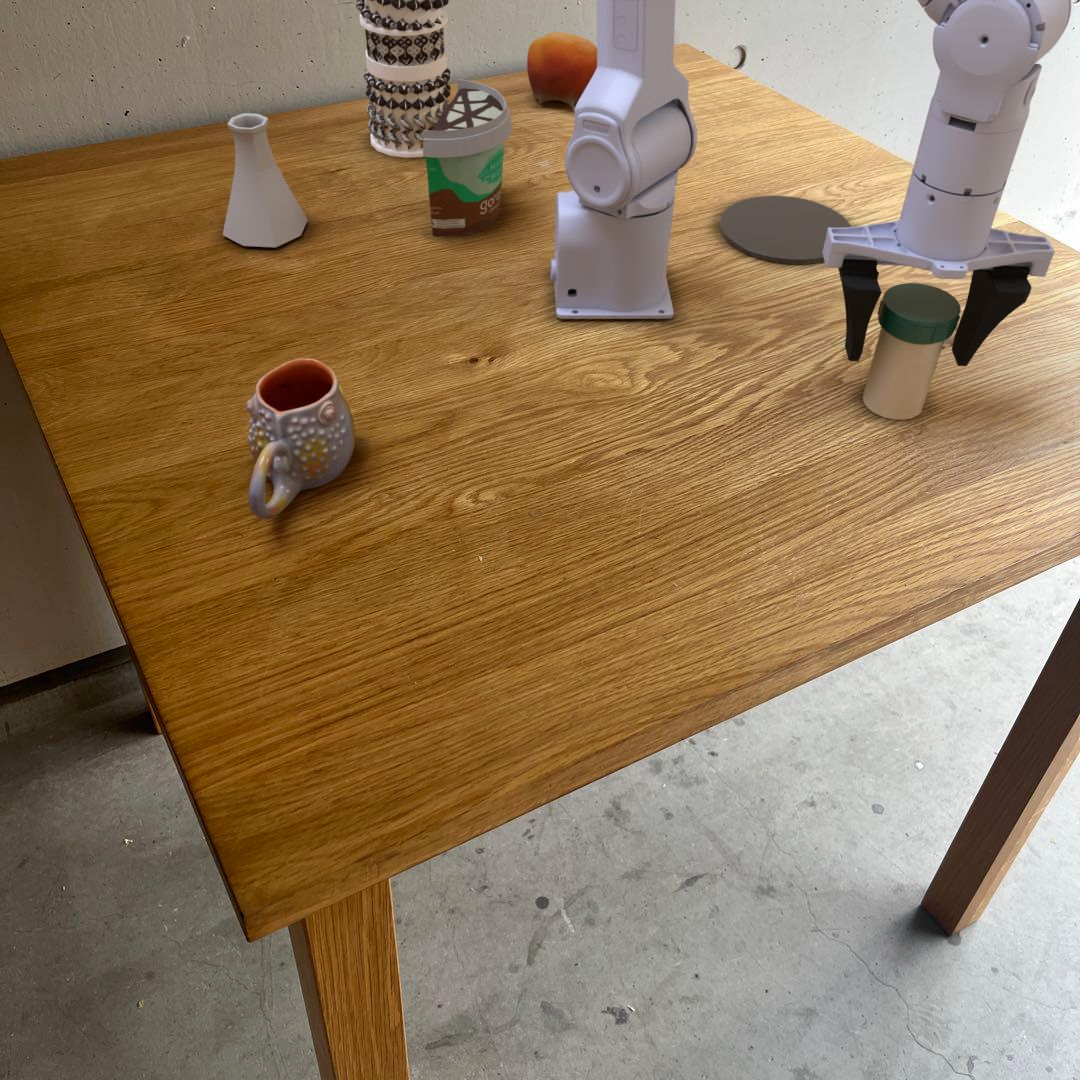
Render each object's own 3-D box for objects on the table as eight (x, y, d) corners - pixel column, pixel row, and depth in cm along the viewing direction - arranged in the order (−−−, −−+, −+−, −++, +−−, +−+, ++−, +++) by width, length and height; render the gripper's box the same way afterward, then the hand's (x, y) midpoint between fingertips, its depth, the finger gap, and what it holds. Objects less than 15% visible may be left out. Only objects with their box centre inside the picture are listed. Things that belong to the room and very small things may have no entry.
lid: (937, 352, 74) (944, 332, 73) (865, 327, 77) (871, 306, 75) (965, 319, 78) (971, 298, 76) (895, 295, 80) (900, 275, 79)
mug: (280, 423, 79) (266, 345, 74) (372, 438, 78) (363, 359, 73) (206, 536, 70) (185, 454, 65) (307, 554, 69) (293, 473, 64)
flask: (208, 240, 97) (185, 129, 90) (253, 205, 102) (235, 97, 95) (279, 257, 95) (261, 145, 89) (321, 220, 100) (307, 111, 93)
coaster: (730, 264, 96) (730, 259, 96) (710, 200, 105) (711, 195, 104) (866, 264, 96) (867, 259, 96) (835, 200, 105) (836, 195, 105)
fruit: (516, 102, 117) (524, 21, 115) (527, 115, 124) (534, 39, 123) (592, 109, 116) (601, 27, 114) (598, 121, 123) (606, 44, 122)
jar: (875, 422, 80) (902, 329, 74) (853, 387, 83) (877, 295, 78) (932, 417, 80) (963, 324, 75) (908, 382, 84) (936, 290, 78)
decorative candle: (428, 166, 109) (413, -122, 91) (349, 148, 111) (319, -136, 94) (472, 132, 115) (465, -145, 97) (395, 115, 117) (375, -157, 100)
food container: (495, 251, 97) (494, 140, 90) (428, 243, 98) (421, 132, 91) (524, 188, 106) (526, 83, 99) (462, 181, 106) (459, 76, 100)
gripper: (853, 200, 67) (811, 384, 76) (1094, 210, 66) (1022, 393, 76) (836, 150, 72) (798, 327, 81) (1060, 158, 72) (996, 336, 81)
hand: (905, 355), depth 79 cm, fingers open, 7 cm apart
